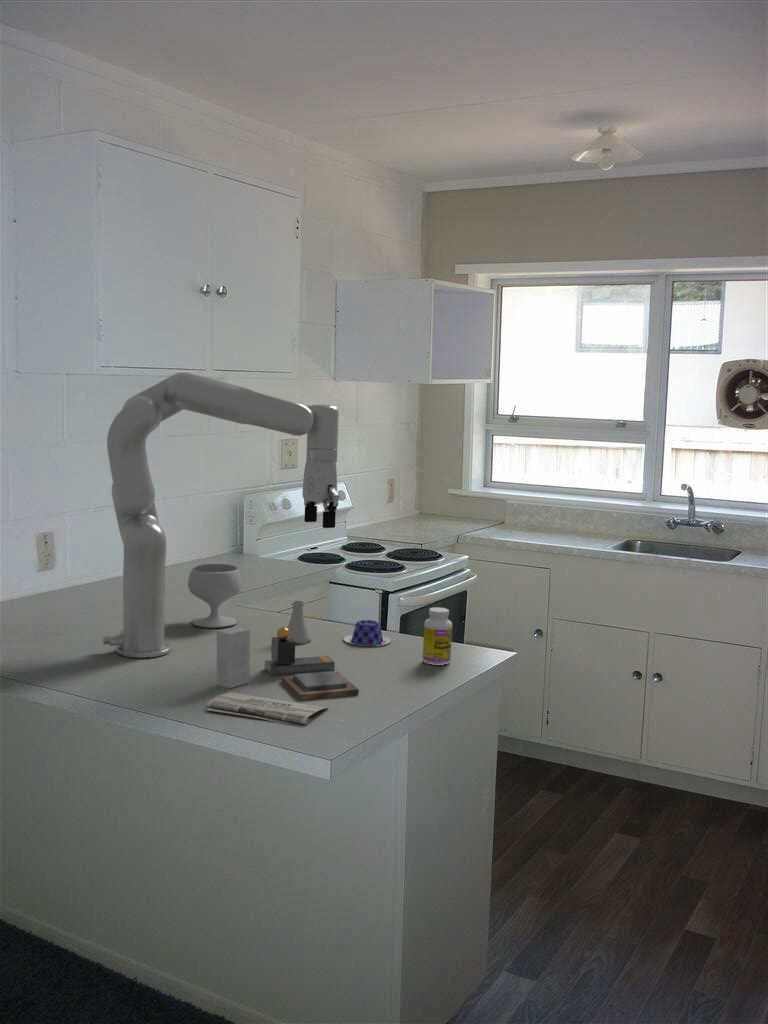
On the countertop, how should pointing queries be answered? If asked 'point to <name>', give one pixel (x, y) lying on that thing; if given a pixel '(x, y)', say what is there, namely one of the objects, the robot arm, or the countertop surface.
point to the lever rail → (301, 665)
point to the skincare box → (233, 656)
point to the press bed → (319, 685)
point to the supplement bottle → (437, 637)
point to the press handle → (283, 647)
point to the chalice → (214, 591)
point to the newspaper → (263, 708)
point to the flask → (298, 624)
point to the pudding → (367, 634)
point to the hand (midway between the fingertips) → (319, 524)
